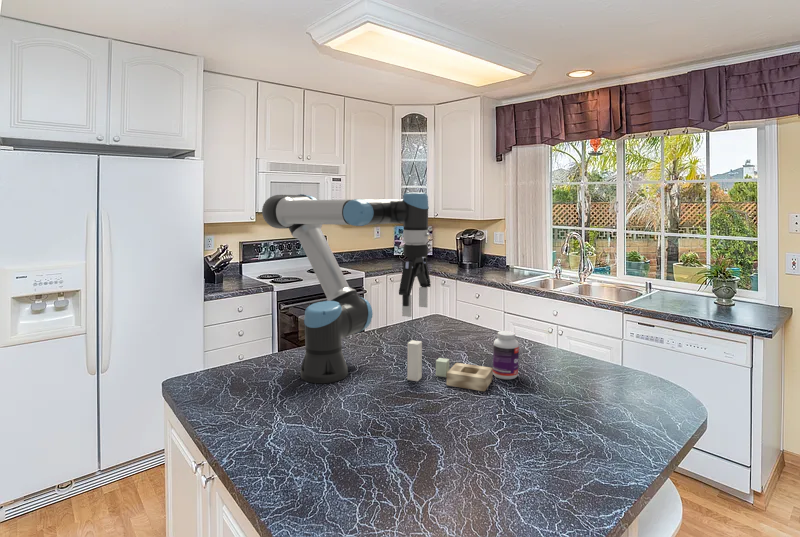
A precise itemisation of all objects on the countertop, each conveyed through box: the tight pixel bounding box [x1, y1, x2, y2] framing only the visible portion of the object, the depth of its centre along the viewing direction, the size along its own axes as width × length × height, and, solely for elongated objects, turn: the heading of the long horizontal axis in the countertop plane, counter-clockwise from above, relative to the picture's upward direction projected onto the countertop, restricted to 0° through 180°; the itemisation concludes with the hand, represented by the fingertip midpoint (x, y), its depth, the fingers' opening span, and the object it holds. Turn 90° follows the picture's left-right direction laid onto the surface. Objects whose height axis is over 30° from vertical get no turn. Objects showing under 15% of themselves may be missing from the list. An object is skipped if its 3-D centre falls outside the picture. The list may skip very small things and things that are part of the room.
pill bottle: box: [492, 330, 520, 380], centre depth 155 cm, size 8×8×14 cm
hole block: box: [446, 362, 494, 392], centre depth 150 cm, size 12×10×4 cm
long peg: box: [406, 340, 423, 382], centre depth 153 cm, size 4×4×12 cm
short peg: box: [435, 357, 450, 378], centre depth 157 cm, size 4×4×5 cm
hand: (415, 311), depth 150 cm, fingers open, 13 cm apart
